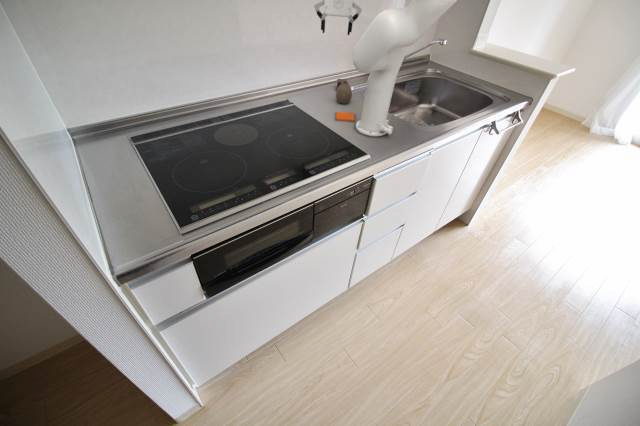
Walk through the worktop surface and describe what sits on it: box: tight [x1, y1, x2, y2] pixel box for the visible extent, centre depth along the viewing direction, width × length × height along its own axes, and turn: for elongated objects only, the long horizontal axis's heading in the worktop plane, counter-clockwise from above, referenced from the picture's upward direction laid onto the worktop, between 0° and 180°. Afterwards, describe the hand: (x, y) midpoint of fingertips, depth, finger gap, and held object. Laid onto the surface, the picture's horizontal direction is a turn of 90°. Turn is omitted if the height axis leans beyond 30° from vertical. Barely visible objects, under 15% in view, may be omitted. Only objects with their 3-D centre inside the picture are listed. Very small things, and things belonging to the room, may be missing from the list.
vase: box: [335, 80, 353, 105], centre depth 125 cm, size 7×7×9 cm
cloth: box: [335, 111, 355, 122], centre depth 117 cm, size 7×6×1 cm
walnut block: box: [336, 78, 348, 90], centre depth 137 cm, size 4×4×4 cm
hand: (335, 33), depth 110 cm, fingers open, 9 cm apart
